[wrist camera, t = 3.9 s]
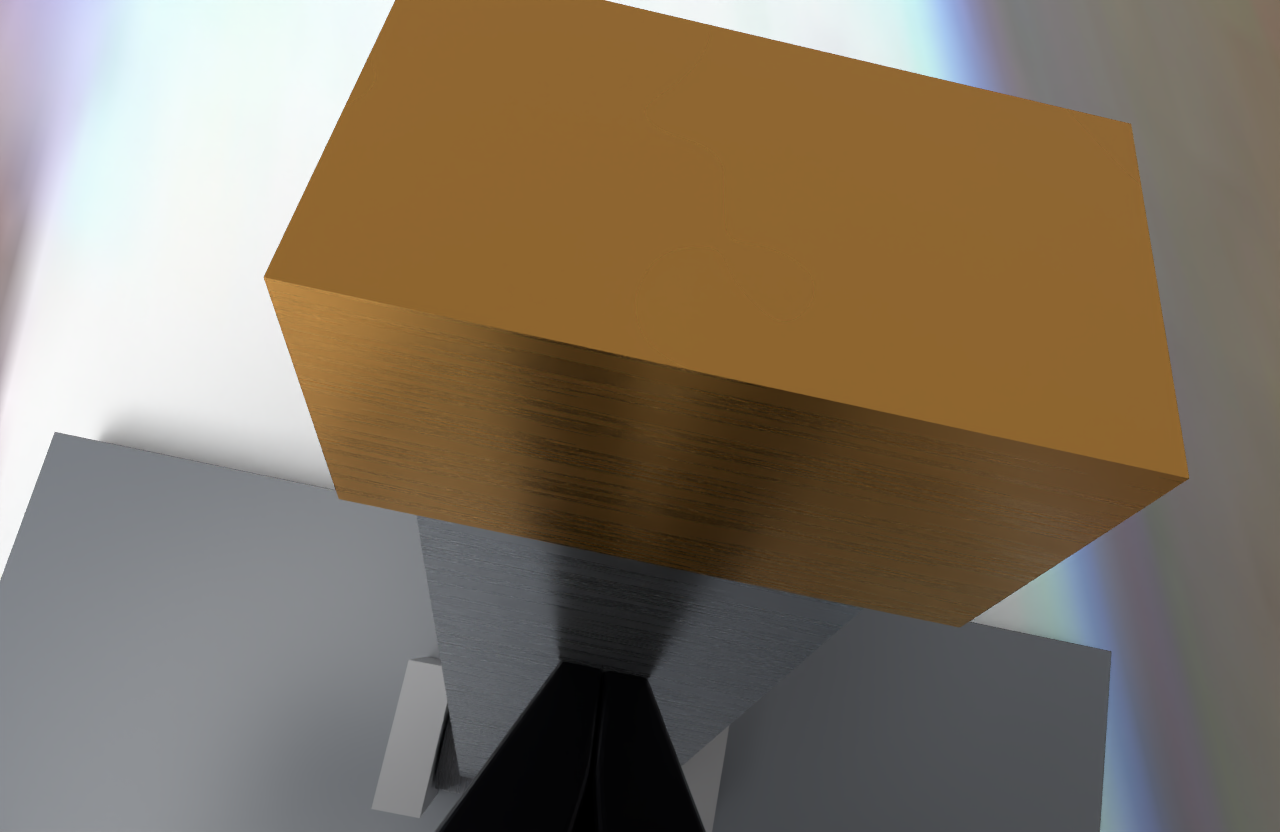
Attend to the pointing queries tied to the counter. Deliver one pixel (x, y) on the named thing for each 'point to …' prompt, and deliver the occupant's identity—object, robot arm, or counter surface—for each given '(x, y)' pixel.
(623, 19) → the lever
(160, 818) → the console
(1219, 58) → the counter surface
